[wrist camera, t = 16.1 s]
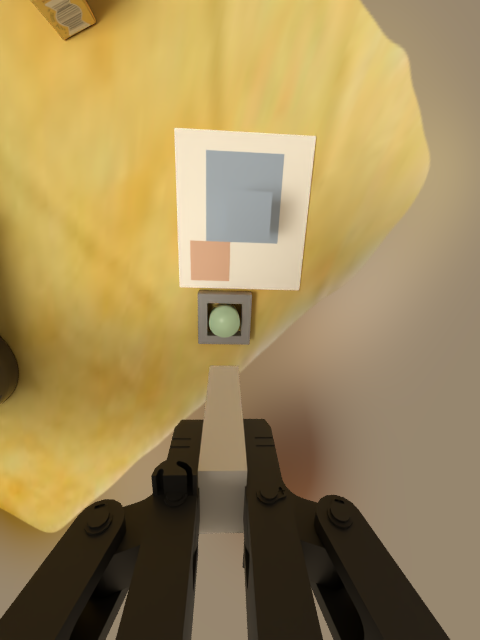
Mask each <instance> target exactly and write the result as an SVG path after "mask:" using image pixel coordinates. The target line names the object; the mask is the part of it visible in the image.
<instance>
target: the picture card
mask: <svg viewBox="0 0 480 640" xmlns="http://www.w3.org/2000/svg"><path fill="white" fill-rule="evenodd" d="M174 130H175V160H176V190H177V220H178V250H179V280H180V287H195V288H232V289H269V290H299V287H300V278H301V269H302V260H303V251H304V241H305V232H306V223H307V214H308V205H309V196H310V187H311V178H312V169H313V160H314V150H315V141H316V136H305V135H288V134H271V133H254V132H236V131H219V130H202V129H185V128H174ZM227 190H242V191H261V192H273V193H272V206H271V220H270V233H269V240H266V239H242V238H226V198H227Z"/></svg>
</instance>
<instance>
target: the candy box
mask: <svg viewBox="0 0 480 640" xmlns="http://www.w3.org/2000/svg"><path fill="white" fill-rule="evenodd" d="M31 2H32V3H33V4H34V5H35V6H36V8H37V9H38V10H39V11H40V12H41V14H42V15H43V16H44V17H45V18H46V19H47V21H48V22H49V23H50V24H51V25H52V27H53V28H54V29H55V30H56V31H57V32H58V34H59V35H60V36H61V38H62V39H63V40H65V39H67V38H69V37H71V36H72V35H74V34H76V33H78V32H80V31H81V30H83V29H85V28H87V27H89V26H91V25H93V24H95V23H96V20H95V17H94V15H93V13H92V11H91V9H90V7H89V5H88V3H87V1H86V0H31Z"/></svg>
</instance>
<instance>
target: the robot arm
mask: <svg viewBox="0 0 480 640" xmlns="http://www.w3.org/2000/svg"><path fill="white" fill-rule="evenodd" d="M17 382H18V366H17V362H16V359H15V357H14V355H13V353H12V351H11V349H10V348H9V346H8V345H7V344H6V343H5V341H4V340H3V339H2V338H1V337H0V404H1V403H2V402H4V401H5V400H6V399H7V398H8V397H9V396H10V395H11V394H12V393H13V391H14V390H15V388H16V385H17ZM152 487H153V494H152V495H151V496H149V497H148V498H146V499H145V500H142V501H140V502H138V503H134V504H131V505H128V506H125V507H122V505H121V503H119V502H117V501H115V500H109V499H107V500H106V499H105V500H101V501H98V502H95V503H93V504H92V505H90V506H88V507H87V508H85V509H84V510H83V511H82V512H81V513H80V514H79V515H78V517H77V518H76V519H75V521H74V522H73V523H72V525H71V526H70V527H69V529H68V530H67V532H66V533H65V534H64V535H63V537H62V538H61V539H60V541H59V542H58V543H57V545H56V546H55V547H54V549H53V550H52V551H51V553H50V554H49V555H48V557H47V558H46V559H45V561H44V562H43V563H42V564H41V566H40V567H39V568H38V570H37V571H36V572H35V574H34V575H33V576H32V578H31V579H30V580H29V582H28V583H27V584H26V586H25V587H24V588H23V590H22V591H21V593H20V594H19V595H18V597H17V598H16V599H15V601H14V602H13V603H12V604H11V606H10V607H9V609H8V610H7V611H6V612H5V614H4V615H3V616H2V618H1V619H0V640H106V637H107V635H108V633H109V631H110V628H111V627H112V624H113V622H114V620H115V618H116V616H117V614H118V611H119V609H120V607H121V605H122V603H123V601H124V598H125V596H126V594H127V592H128V595H127V599H126V602H125V606H124V610H123V614H122V618H121V622H120V625H119V629H118V633H117V637H116V640H191V634H192V622H193V609H194V598H195V597H194V596H195V584H196V573H197V561H198V536H199V534H205V533H243V532H244V555H243V568H244V569H245V587H246V609H247V629H248V640H323V638H322V633H321V629H320V625H319V620H318V616H317V611H316V607H315V603H314V598H313V594H312V590H313V593H314V595H315V597H316V600H317V602H318V604H319V607H320V609H321V611H322V614H323V616H324V618H325V621H326V623H327V625H328V628H329V630H330V632H331V635H332V637H333V639H334V640H450V639H449V638H448V636H447V634H446V633H445V632H444V630H443V629H442V627H441V626H440V625H439V623H438V622H437V621H436V619H435V617H434V616H433V615H432V613H431V612H430V610H429V609H428V607H427V606H426V605H425V603H424V602H423V600H422V599H421V598H420V596H419V595H418V593H417V592H416V591H415V589H414V588H413V586H412V585H411V583H410V582H409V581H408V579H407V578H406V576H405V575H404V574H403V572H402V571H401V569H400V568H399V566H398V565H397V564H396V562H395V561H394V559H393V558H392V556H391V555H390V554H389V552H388V551H387V550H386V548H385V547H384V545H383V544H382V542H381V541H380V539H379V538H378V537H377V535H376V534H375V532H374V531H373V530H372V528H371V527H370V525H369V524H368V522H367V521H366V520H365V518H364V517H363V515H362V514H361V513H360V511H359V510H358V509H357V508H356V507H355V506H354V505H353V503H351V502H350V501H348V500H347V499H345V498H344V497H340V496H337V495H327V496H325V497H323V498H321V499H320V500H319V502H318V503H316V502H313V501H310V500H306V499H303V498H301V497H298V496H296V495H295V494H293V493H292V492H291V491H290V490H289V489H288V488H287V487H286V486H285V484H284V483H283V480H282V477H281V472H280V468H279V463H278V458H277V454H276V449H275V445H274V440H273V436H272V431H271V427H270V426H269V425H268V423H267V422H266V421H265V420H264V419H243V414H242V402H241V391H240V378H239V367H238V366H210V368H209V377H208V386H207V395H206V404H205V412H204V420H181V421H180V423H179V424H178V425H177V426H176V427H175V429H174V433H173V437H172V441H171V446H170V449H169V454H168V458H167V460H166V461H164V462H162V463H161V464H160V465H159V466H157V467H156V468H155V470H154V472H153V474H152ZM311 588H312V590H311ZM128 590H129V591H128Z"/></svg>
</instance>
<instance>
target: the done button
mask: <svg viewBox="0 0 480 640" xmlns="http://www.w3.org/2000/svg"><path fill="white" fill-rule="evenodd" d="M239 326H240V319H239V313H238V310H237V309H236V308H235V307H234V306H233V305H231V304H226V303H220V304H218V305H216V306H215V307H214V308H213V309H212V311H211V313H210V318H209V327H210V329H211V331H212V332H213V333H214V334H215V335H217V336H219V337H230V336H232V335H234V334H235V333H236V332H237V331H238V329H239Z"/></svg>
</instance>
